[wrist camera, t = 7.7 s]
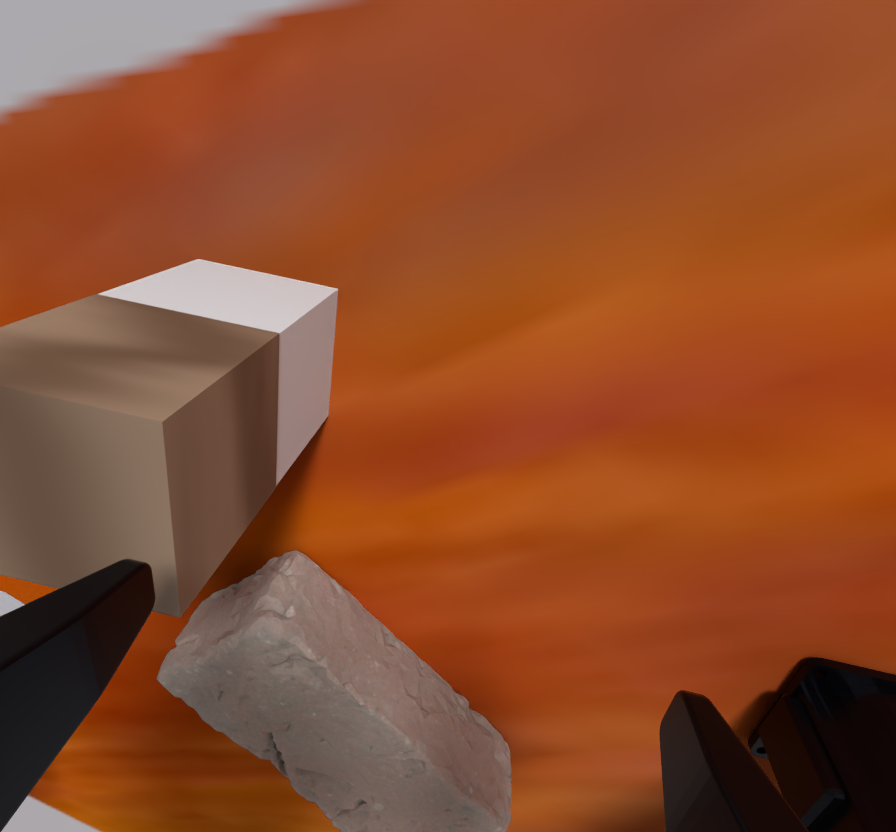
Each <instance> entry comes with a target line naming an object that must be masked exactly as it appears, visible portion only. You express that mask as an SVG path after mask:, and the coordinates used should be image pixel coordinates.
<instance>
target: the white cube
mask: <svg viewBox="0 0 896 832" xmlns="http://www.w3.org/2000/svg"><path fill="white" fill-rule="evenodd" d="M99 295H104V296H108V297H113V298H118V299H122V300H127V301H132V302H136V303H141V304H146V305H150V306H155V307H160V308H164V309H169V310H174V311H178V312H183V313H188V314H192V315H197V316H202V317H206V318H211V319H216V320H220V321H225V322H230V323H234V324H239V325H244V326H248V327H253V328H258V329H262V330H267V331H272V332H276V333H280V334H279V378H278V422H277V466H276V486H277V484H278V483H279V482H280V480H281V479H282V478H283V476H284V475H285V473H286V472H287V471H288V469H289V468H290V467H291V465H292V464H293V463H294V461H295V460H296V459H297V457H298V456H299V455H300V453H301V452H302V451H303V449H304V448H305V447H306V445H307V444H308V442H309V441H310V440H311V438H312V437H313V436H314V434H315V433H316V432H317V430H318V429H319V428H320V426H321V425H322V424H323V422H324V421H325V420H326V418H327V417H328V413H329V400H330V387H331V375H332V362H333V349H334V336H335V324H336V311H337V298H338V289H336V288H332V287H327V286H322V285H318V284H313V283H308V282H304V281H299V280H294V279H290V278H285V277H280V276H276V275H271V274H266V273H262V272H257V271H252V270H248V269H243V268H238V267H234V266H229V265H224V264H220V263H215V262H210V261H206V260H201V259H197V260H194V261H191V262H188V263H185V264H182V265H179V266H177V267H174V268H171V269H168V270H165V271H162V272H159V273H157V274H154V275H151V276H148V277H145V278H142V279H139V280H137V281H134V282H131V283H128V284H125V285H122V286H119V287H117V288H114V289H111V290H108V291H105V292H102V293H99Z"/></svg>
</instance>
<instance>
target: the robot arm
mask: <svg viewBox="0 0 896 832" xmlns="http://www.w3.org/2000/svg"><path fill="white" fill-rule="evenodd" d="M154 604H155V589H154V582H153V574H152V568H151V566H150V565H149V564H148V563H146V562H142V561H137V560H133V559H123V560H120V561H118V562H116V563H114V564H111V565H109V566H107V567H105V568H103V569H101V570H99V571H96V572H94V573H92V574H90V575H88V576H86V577H84V578H81V579H79V580H77V581H75V582H73V583H71V584H68V585H66V586H64V587H62V588H60V589H58V590H56V591H53V592H51V593H49V594H47V595H45V596H43V597H41V598H38V599H36V600H34V601H32V602H30V603H28V604H26V605H23V606H21V607H19V608H17V609H15V610H13V611H11V612H8V613H6V614H4V615H2V616H0V832H1V831H2V830H3V828H4V827H5V825H6V824H7V823H8V821H9V820H10V819H11V817H12V816H13V815H14V813H15V812H16V811H17V809H18V808H19V806H20V805H21V804H22V802H23V801H24V800H25V798H26V797H27V796H28V794H29V793H30V791H31V790H32V789H33V787H34V786H35V785H36V783H37V782H38V781H39V779H40V778H41V777H42V775H43V774H44V772H45V771H46V770H47V768H48V767H49V766H50V764H51V763H52V762H53V760H54V759H55V757H56V756H57V755H58V753H59V752H60V751H61V749H62V748H63V747H64V745H65V744H66V743H67V741H68V740H69V738H70V737H71V736H72V734H73V733H74V732H75V730H76V729H77V728H78V726H79V725H80V723H81V722H82V721H83V719H84V718H85V717H86V715H87V714H88V713H89V711H90V710H91V708H92V707H93V706H94V704H95V703H96V701H97V700H98V699H99V697H100V696H101V694H102V693H103V691H104V689H105V688H106V686H107V685H108V683H109V682H110V680H111V678H112V677H113V675H114V673H115V672H116V670H117V668H118V667H119V665H120V663H121V662H122V660H123V658H124V657H125V655H126V653H127V652H128V650H129V648H130V647H131V645H132V643H133V642H134V640H135V638H136V637H137V635H138V633H139V632H140V630H141V628H142V627H143V625H144V623H145V622H146V620H147V618H148V617H149V615H150V613H151V611H152V609H153V607H154ZM748 745H749V748H750V751H751V753H752V754H753V755H755V756H757V757H761V758H765V759H769V761H770V764H771V766H772V769H773V771H774V774H775V777H776V779H777V782H778V784H779V787H780V790H781V792H782V795H783V796H782V795H781V794H780V793H779V791H778V790H777V789H776V787H775V786H774V785H773V783H772V782H771V781H770V779H769V778H768V777H767V775H766V774H765V773H764V771H763V770H762V769H761V767H760V766H759V765H758V763H757V762H756V761H755V759H754V758H753V757H752V755H751V754H750V753H749V751H748V750H747V749H746V747H745V746H744V745H743V743H742V742H741V741H740V739H739V738H738V737H737V735H736V734H735V733H734V731H733V730H732V729H731V727H730V726H729V725H728V724H727V722H726V721H725V720H724V718H723V717H722V716H721V714H720V713H719V712H718V710H717V709H716V708H715V706H714V705H713V704H712V702H711V701H710V700H709V699H708V698H707V697H705V696H704V695H701V694H697V693H693V692H689V691H684V690H681V691H679V692H677V693H676V695H675V696H674V698H673V700H672V702H671V704H670V706H669V708H668V710H667V712H666V713H665V715H664V717H663V719H662V722H661V725H660V750H661V765H662V781H663V796H664V812H665V827H666V832H896V675H894V674H889V673H885V672H881V671H876V670H872V669H868V668H863V667H859V666H854V665H850V664H846V663H841V662H837V661H833V660H828V659H824V658H812V659H809V660H807V661H806V662H805V663H804V664H803V665H802V667H801V668H800V670H799V671H798V672H797V674H796V675H795V676H794V678H793V679H792V681H791V682H790V683H789V685H788V686H787V687H786V689H785V690H784V691H783V693H782V694H781V696H780V697H779V698H778V700H777V701H776V702H775V704H774V705H773V707H772V708H771V709H770V711H769V712H768V713H767V715H766V716H765V718H764V719H763V720H762V722H761V723H760V724H759V726H758V727H757V728H756V730H755V731H754V733H753V734H752V735H751V737H750V738H749V739H748ZM783 797H784V798H783Z"/></svg>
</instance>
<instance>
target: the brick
mask: <svg viewBox="0 0 896 832" xmlns="http://www.w3.org/2000/svg"><path fill="white" fill-rule="evenodd" d="M175 644H176V646H177V647H176V648H174V649H172V650H170V651H169V652H168V654H167V655H166V657H165V659H164V661H163V663H162V665H161V667H160V670H159V673H158V676H157V680H158V681H159V682H160V683H161V685H162V686H164V687H165V688H166V689H167V690H168V691H169V692H170V693H171V694H172V695H173V696H174V697H178V698H181V699H182V700H183V701H184V702H185V703H186V704H187V705H188V706H189V707H192V708H194V709H195V710H196V712H197V713H198V715H199V716H200V717H201V719H202V720H203V721H205V722H206V723H208V724H209V725H210V726H211V727H212V728H214V729H215V730H216V731H218V732H223V733H224V734H225V735H226V736H228V737H229V738H230V739H231V740H232V741H233V742H234V743H236V744H238V745H239V746H241V747H243V748H245V749H247V750H248V751H250V752H251V753H252V754H254V755H255V756H257V757H258V758H260V759H265V760H270V761H271V763H272V764H273V765H274V766H275V767H276V768H277V769H278V770H279V772H280V773H281V774H282V775H284V776H285V777H287V778H289V780H290V784H291V787H292V788H293V789H294V790H295V791H296V792H297V793H298V794H299V795H301V796H303V797H304V798H305V799H306V800H307V801H310V802H314V803H316V804H317V805H318V807H319V808H320V809H321V810H322V811H323V812H324V814H325V816H326V817H327V818H329V819H330V820H331V821H332V824H333V826H334V827H336V828H337V829H340V830H341V831H342V832H506V831H507V828H508V826H509V823H510V820H511V813H510V804H511V787H512V786H511V784H510V783H511V764H510V750H509V747H508V744H507V743H506V742H505V741H504V740H503V737H502V735H501V734H500V733H499V732H498V731H497V730H496V729H495V728H494V727H493V726H492V725H491V724H490V723H489V722H488V721H487V719H486V718H485V717H484V716H482V715H481V714H479V713H477V712H475V711H474V710H471V709H470V708H469V702H468V701H467V699H466V698H465V697H463V696H461V695H459V694H457V693H455V691H454V690H453V688H452V687H451V686H450V685H449V684H448V683H447V682H446V681H445V680H444V679H443V678H441V677H440V676H439V675H438V674H437V673H436V672H435V671H434V670H433V669H432V668H431V667H430V666H429V665H428V664H427V663H426V662H424V661H423V660H421V659H420V658H418V656H417V655H416V654H415V653H414V652H413V651H412V650H411V649H410V648H408V647H407V646H406V645H405V644H404V643H403V642H401V641H400V640H399V639H397V638H396V637H395V635H394V634H393V633H392V632H391V631H389V630H388V629H387V628H386V627H385V626H384V625H383V624H382V623H381V622H380V621H379V620H378V619H376V618H375V617H374V616H372V615H371V614H370V613H369V612H368V611H366V610H365V608H364V607H363V606H362V605H361V604H360V602H359V601H358V600H357V599H356V598H355V597H354V596H352V595H351V594H350V592H349V591H347V590H346V589H344V588H343V587H342V586H341V585H340V584H339V583H337V582H336V581H335V580H334V579H332V578H331V577H330V576H329V575H328V574H326V573H325V572H324V571H323V570H322V569H321V568H320V567H319V566H318V565H317V564H316V563H314V562H313V561H312V560H311V559H310V558H308V557H307V556H306V555H305V554H303V553H301V552H299V551H296V550H294V551H291V552H287V553H284V554H283V555H282V556H280V557H274V558H272V559H270V560H268V562H267V563H266V565H264V566H263V567H262V569H259V570H257V571H256V573H255V574H252V575H251V576H249V577H247V578H244V579H243V580H242V581H240V582H239V583H238V584H232V585H230V586H229V587H228V588H226V589H221V590H219V591H216V592H214V593H213V594H212V595H211V596H210V597H208V598H207V599H205V600H204V601H202V602H201V603H200V605H199V606H198V607H197V609H196V610H195V612H194V613H193V614H192V616H191V617H190V619H189V622H188V624H187V625H186V626H185V627H184V629H183V630H182V632H181V633H180V634H179V636H178V637H177V638H176V640H175Z"/></svg>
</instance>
